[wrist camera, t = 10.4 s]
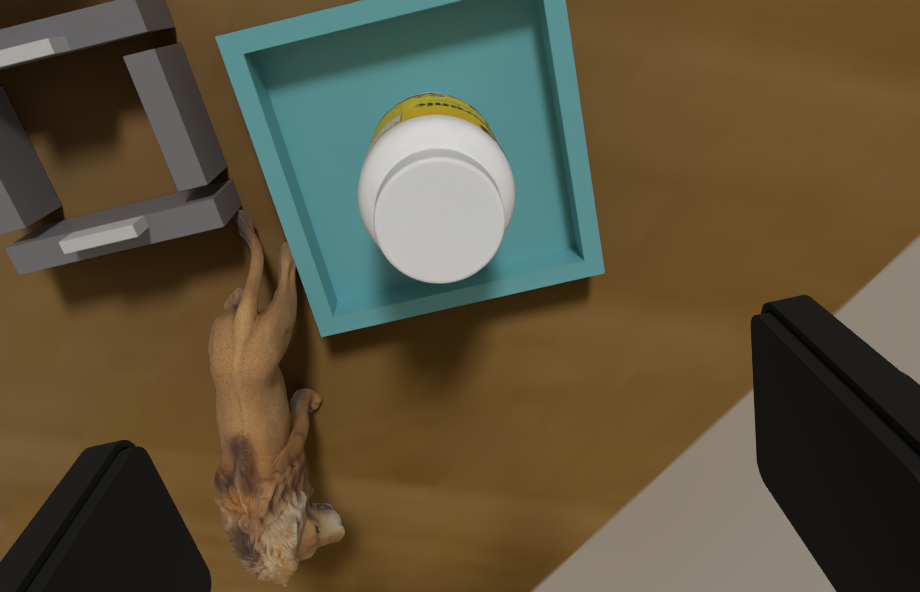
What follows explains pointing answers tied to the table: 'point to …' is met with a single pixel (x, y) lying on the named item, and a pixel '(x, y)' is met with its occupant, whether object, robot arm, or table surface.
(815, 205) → the table surface
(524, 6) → the tray
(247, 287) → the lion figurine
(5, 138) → the clip holder
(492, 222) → the supplement bottle
